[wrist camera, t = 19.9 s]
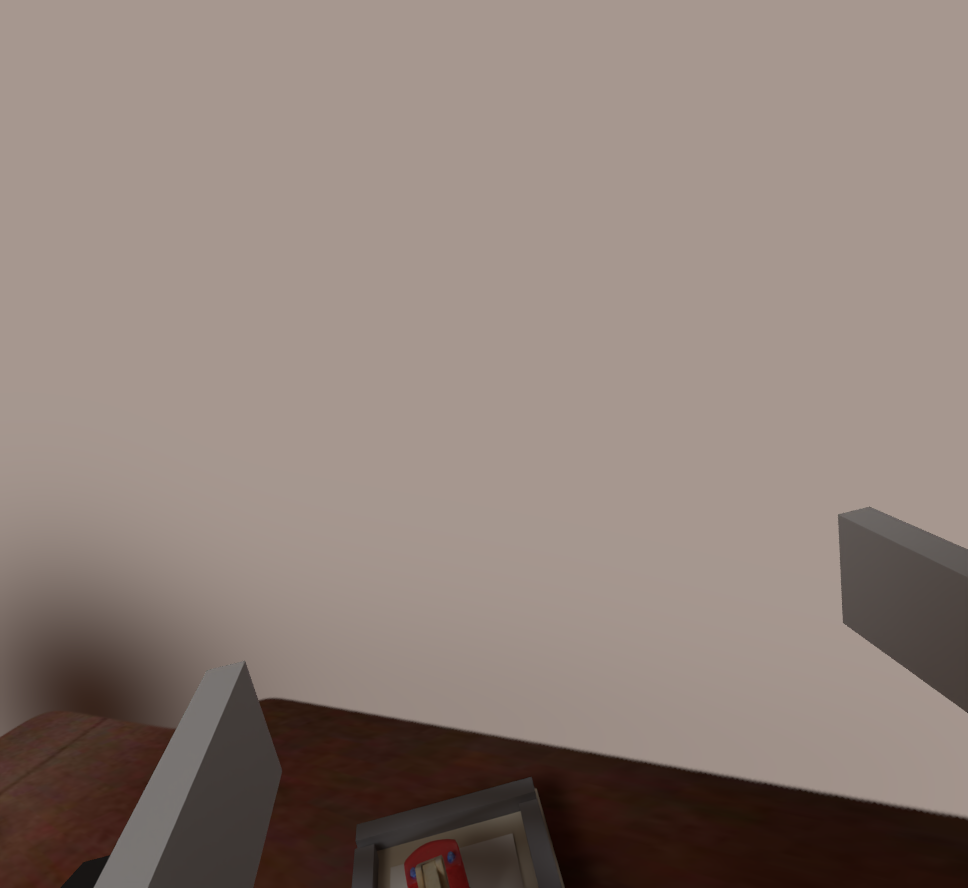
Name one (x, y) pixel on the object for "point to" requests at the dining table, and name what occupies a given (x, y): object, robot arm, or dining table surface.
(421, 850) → the toy fire truck
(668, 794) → the dining table surface
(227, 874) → the robot arm
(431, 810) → the dock
